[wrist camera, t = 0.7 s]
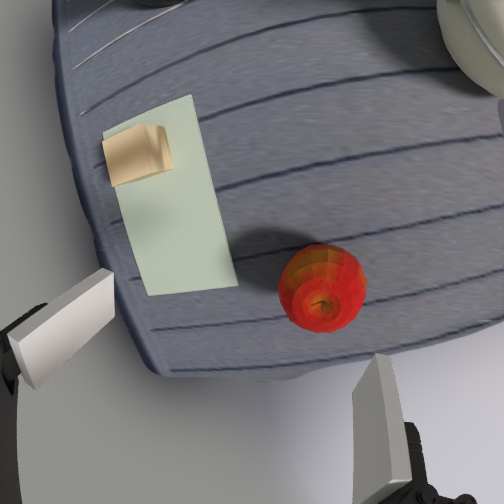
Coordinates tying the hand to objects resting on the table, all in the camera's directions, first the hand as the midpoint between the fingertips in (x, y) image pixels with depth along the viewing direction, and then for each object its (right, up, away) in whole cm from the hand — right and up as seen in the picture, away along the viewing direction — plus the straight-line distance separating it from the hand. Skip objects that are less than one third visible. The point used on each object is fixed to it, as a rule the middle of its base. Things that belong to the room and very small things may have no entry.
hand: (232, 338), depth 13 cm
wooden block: (-13, +17, +24) cm, 32 cm away
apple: (+10, +2, +24) cm, 26 cm away
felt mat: (-11, +11, +26) cm, 30 cm away
